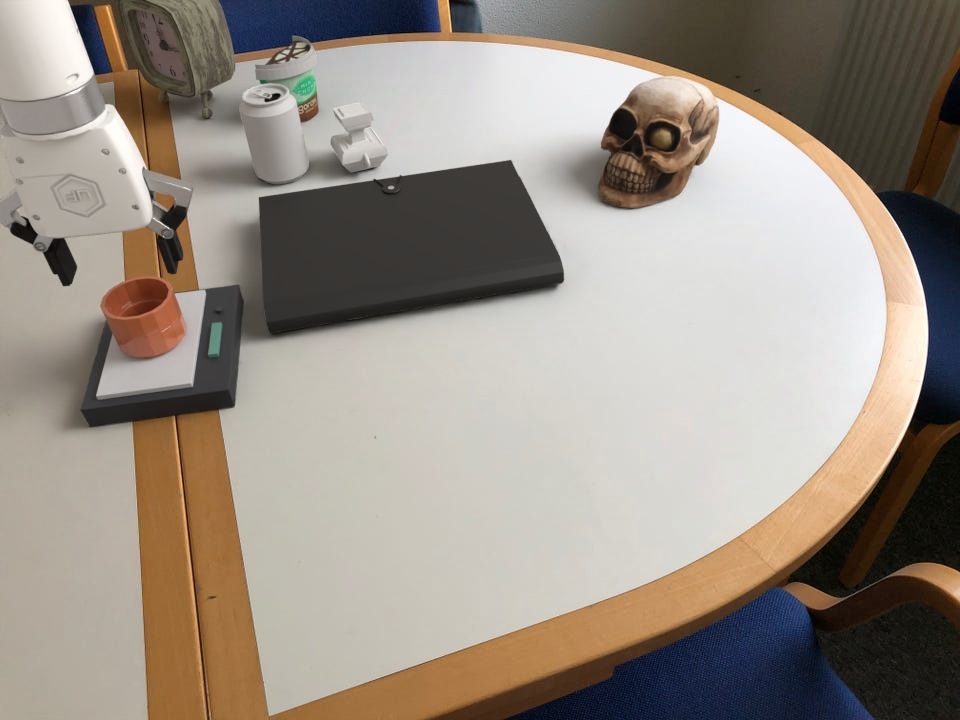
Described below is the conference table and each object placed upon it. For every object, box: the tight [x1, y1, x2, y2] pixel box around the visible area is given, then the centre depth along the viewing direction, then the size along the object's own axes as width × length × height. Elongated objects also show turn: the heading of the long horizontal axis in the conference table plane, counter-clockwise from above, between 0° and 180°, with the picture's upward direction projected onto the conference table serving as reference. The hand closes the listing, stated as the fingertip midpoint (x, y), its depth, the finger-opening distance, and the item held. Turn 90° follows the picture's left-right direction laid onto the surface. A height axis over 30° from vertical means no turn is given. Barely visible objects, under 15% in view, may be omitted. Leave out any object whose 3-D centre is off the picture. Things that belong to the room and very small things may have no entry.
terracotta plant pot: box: [99, 275, 187, 358], centre depth 80 cm, size 7×7×6 cm
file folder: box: [258, 159, 565, 334], centre depth 95 cm, size 33×4×24 cm
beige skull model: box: [597, 75, 720, 209], centre depth 105 cm, size 16×17×13 cm
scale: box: [79, 284, 245, 428], centre depth 83 cm, size 14×17×3 cm
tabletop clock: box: [117, 0, 236, 119], centre depth 121 cm, size 14×9×25 cm, turn 55°
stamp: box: [330, 101, 389, 174], centre depth 110 cm, size 9×7×8 cm
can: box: [238, 83, 310, 185], centre depth 108 cm, size 8×8×12 cm
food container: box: [254, 35, 320, 124], centre depth 122 cm, size 12×6×10 cm, turn 161°
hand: (123, 271), depth 76 cm, fingers open, 9 cm apart
